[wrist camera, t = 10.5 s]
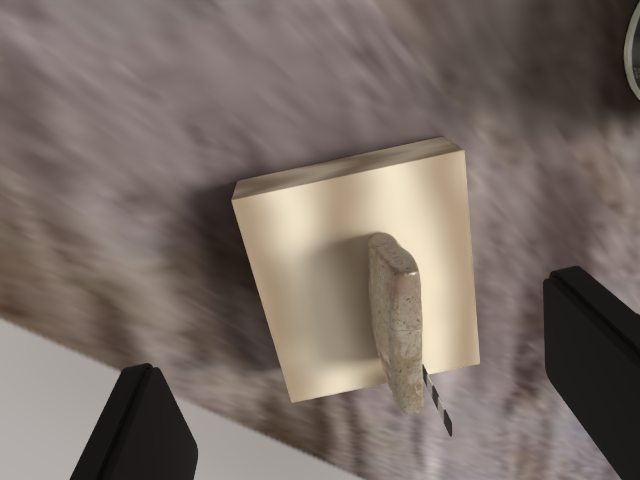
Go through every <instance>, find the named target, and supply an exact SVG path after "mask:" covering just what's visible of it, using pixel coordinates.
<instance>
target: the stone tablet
mask: <svg viewBox="0 0 640 480" xmlns="http://www.w3.org/2000/svg"><path fill="white" fill-rule="evenodd" d="M368 256H369V280H368V283H369V285H368V287H369V303H370V312H371V323H372V329H373V334H374V339H375V345H376V349H377V353H378V355H379V358H380V360H381V364H382V367H383V372H384V375H385V378H386V381H387V384H388V386H389V388H390V389H391V390H392V393H393V396H394V398H395V399H396V402H397V403H398V405H399V407H400V408H401V410H402V411H403V412H404V413H405V414H412V413H413V414H417V413H420V412H421V411H422V410H423V408H424V394H423V379H424V382H425V384H426V386H427V388H428V390H429V392H430V394H431V396H432V399H433V401H434V403H435V405H436V407H437V409H438V411H439V414H440V416H441V418H442V420H443V422H444V424H445V426H446V429H447V431H448V433H449V435H450V437H451V436H452V422H451V420H450V418H449V416H448V414H447V412H446V410H445V408H444V406H443V404H442V402H441V399H440V397H439V395H438V393H437V391H436V389H435V387H434V385H433V383H432V381H431V379H430V377H429V375H428V373H427V371H426V369H425V367H424V365H423V364H422V346H423V343H422V333H423V316H422V301H421V281H420V272H419V269H418V266H417V263H416V261H415V259H414V257H413V256H412V255H411V254H410V252H408V251H407V250H405V249H404V248H402V247H401V246H400V244H399V242H398V241H397V240H396V239H395V238H394V237H393V236H392V235H390V234H388V233H379V234H374V235H373V236H372V238H370V240H369V242H368Z"/></svg>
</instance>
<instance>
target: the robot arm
mask: <svg viewBox="0 0 640 480" xmlns="http://www.w3.org/2000/svg"><path fill="white" fill-rule="evenodd" d="M543 301H544V342H545V369H546V373H547V376H548V378H549V380H550V382H551V383H552V385H553V386H554V388H555V389H556V390H557V392H558V393H559V394H560V396H561V397H562V399H563V400H564V401H565V403H566V404H567V405H568V407H569V408H570V409H571V411H572V412H573V414H574V415H575V416H576V418H577V419H578V420H579V422H580V423H581V425H582V426H583V427H584V429H585V430H586V431H587V433H588V434H589V436H590V437H591V438H592V440H593V441H594V442H595V444H596V445H597V447H598V448H599V449H600V451H601V452H602V453H603V455H604V456H605V457H606V459H607V460H608V462H609V463H610V464H611V466H612V467H613V468H614V470H615V471H616V473H617V474H618V475H619V477H620V478H621V479H622V480H640V315H639V314H637V313H635V312H634V311H633V310H631V309H630V308H629V307H628V306H627V305H625V304H624V303H623V302H622V301H621V300H619V299H618V298H617V297H616V296H615V295H613V294H612V293H611V292H610V291H609V290H607V289H606V288H605V287H604V286H603V285H601V284H600V283H599V282H598V281H597V280H595V279H594V278H593V277H592V276H591V275H589V274H588V273H587V272H586V271H585V270H583V269H582V268H581V267H579V266H572V267H568V268H564V269H559V270H555V271H552V272H551V273H550V276H549V278H548V279H545V280H544V282H543ZM197 460H198V448H197V444H196V442H195V440H194V438H193V436H192V433H191V432H190V429H189V427H188V425H187V423H186V421H185V420H184V417H183V415H182V413H181V411H180V409H179V407H178V405H177V403H176V401H175V398H174V396H173V394H172V392H171V390H170V388H169V386H168V384H167V382H166V380H165V378H164V376H163V374H162V372H161V370H160V369H159V368H158V367H155V368H153V366H152V365H151V364H149V363H145V364H141V365H136V366H132V367H127V368H125V369H123V370H122V372H121V374H120V376H119V378H118V380H117V382H116V384H115V387H114V388H113V390H112V392H111V394H110V397H109V399H108V401H107V403H106V405H105V407H104V409H103V411H102V413H101V415H100V417H99V420H98V422H97V424H96V426H95V428H94V430H93V432H92V434H91V436H90V438H89V440H88V442H87V444H86V447H85V449H84V451H83V453H82V455H81V457H80V459H79V461H78V463H77V465H76V467H75V469H74V471H73V473H72V476H71V478H70V480H193V479H194V475H195V470H196V465H197Z"/></svg>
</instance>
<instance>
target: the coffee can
mask: <svg viewBox="0 0 640 480" xmlns="http://www.w3.org/2000/svg"><path fill="white" fill-rule="evenodd" d="M624 66H625V72H626V76H627V80H628V83H629V85H630V87H631V89H632V90H633V92H634V93H635V95H636V96H637V98H638V99H639V100H640V1H639V3H638V5H637V7H636V9H635V11H634V13H633V15H632V17H631V20H630V24H629V28H628V31H627V35H626V39H625V46H624Z"/></svg>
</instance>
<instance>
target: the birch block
mask: <svg viewBox="0 0 640 480" xmlns="http://www.w3.org/2000/svg"><path fill="white" fill-rule="evenodd" d="M231 201H232V204H233V208H234V211H235V215H236V218H237V221H238V225H239V228H240V231H241V235H242V238H243V241H244V245H245V248H246V251H247V255H248V258H249V261H250V265H251V268H252V272H253V275H254V278H255V282H256V285H257V288H258V292H259V295H260V298H261V302H262V305H263V308H264V312H265V315H266V318H267V322H268V325H269V329H270V332H271V335H272V339H273V342H274V345H275V349H276V352H277V355H278V359H279V362H280V365H281V369H282V372H283V375H284V379H285V382H286V386H287V389H288V392H289V396H290V399H291V402H292V403H293V402H298V401H303V400H308V399H313V398H317V397H322V396H327V395H332V394H337V393H341V392H346V391H351V390H356V389H361V388H365V387H370V386H375V385H380V384H385V383H387V381H386V378H385V375H384V372H383V367H382V364H381V360H380V358H379V355H378V353H377V349H376V345H375V339H374V334H373V329H372V323H371V312H370V303H369V287H368V285H369V283H368V280H369V256H368V242H369V240H370V238H372V236H373V235H374V234H379V233H388V234H390V235H392V236H393V237H394V238H395V239H396V240H397V241H398V242H399V244H400V246H401V247H402V248H404V249H405V250H407V251H408V252H410V254H411V255H412V256H413V257H414V259H415V261H416V263H417V266H418V269H419V272H420V281H421V301H422V316H423V333H422V343H423V346H422V364H423V365H424V367H425V369H426V371H427V373H428V374H433V373H438V372H443V371H447V370H452V369H457V368H462V367H467V366H471V365H476V364H480V357H479V344H478V330H477V316H476V303H475V289H474V275H473V262H472V248H471V234H470V221H469V207H468V193H467V180H466V166H465V152H464V149H462V148H460V147H459V146H457V145H456V144H454V143H453V142H451V141H450V140H448V139H446V138H445V137H443V136H442V137H438V138H433V139H428V140H424V141H419V142H415V143H410V144H405V145H401V146H396V147H392V148H387V149H382V150H378V151H373V152H369V153H364V154H359V155H355V156H350V157H345V158H341V159H336V160H332V161H327V162H322V163H318V164H313V165H309V166H304V167H299V168H295V169H290V170H286V171H281V172H276V173H272V174H267V175H262V176H258V177H253V178H249V179H244V180H239V181H237V184H236V187H235V190H234V193H233V197H232V200H231Z"/></svg>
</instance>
